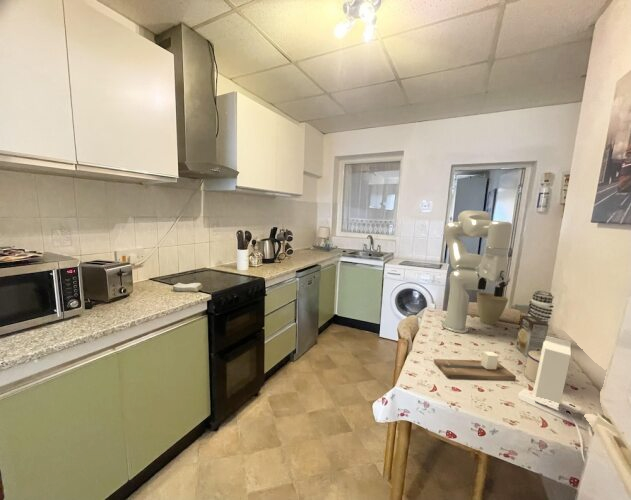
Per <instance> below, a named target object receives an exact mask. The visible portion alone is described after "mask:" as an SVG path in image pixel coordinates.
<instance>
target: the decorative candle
mask: <svg viewBox="0 0 631 500" xmlns="http://www.w3.org/2000/svg"><path fill="white" fill-rule="evenodd" d="M554 298H555V296H553V295H552V293H551V292H548V291H545V290H536V291H533V292H532V298H531V300H530V301H529V302H528V303H529V304H528V312H527V316H532V317H537V318H539V319H540V320H542V321H543V322H545V323H547V324H548V325H549V321H551V320H550V319H551V316H550V315H552V312H553V309H552V308H554V305H553V301H554V300H553V299H554Z"/></svg>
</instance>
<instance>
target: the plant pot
mask: <svg viewBox="0 0 631 500" xmlns="http://www.w3.org/2000/svg"><path fill="white" fill-rule="evenodd" d="M508 300H509V298H508V297H506V296H504V295H503V296H502V297H495V296H494V293H493V292H485V291H478V292H476V302H477V303H476V305H477V306H476V307H477V312H478V318H479V320H480V322H481V323H484V324H486V325H493V326H494V325H496V324H497V322H498V321H499V319H501V316H502V314H503V313H504V311H505V309H506V307H507V304H508Z"/></svg>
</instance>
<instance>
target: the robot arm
mask: <svg viewBox="0 0 631 500" xmlns="http://www.w3.org/2000/svg"><path fill="white" fill-rule="evenodd" d="M512 224H513V223H511V222H509V221H499V220H492V217H491V215H490V213H489V212H487V211H484V210H471V209H470V210H469V209H468V210H464V211H461V212H460V213H459V214H458V216H457V221H449V222H448V223H446V224H445V226H444V228H443V229H444V230H443V237H444V240H445V241H444V242H445V243H446V245H447V247H448V253H449V260H450V262H449V263H450V265H451V268H452V269H454V270H453V271H451V272H450V274H449V294H448V302H447V306H446V307H447V308H446V314H445V315H444V316H443V318H444V321H442V322H441V326H442V328H444V329H445V330H448V331H450V332H453V333H457V334H458V333H459V334H466V333H469V328H468V327H467V326H466V323H467V316H468V313H469V312H468V311H469V306H470V305H469V304H470V295H469V294H468V292H467V291H466V290H471V291H472V290H473V291H474V290H475V291H484V290H486V289H487V288H488V287H489V281H491V282H492V281H493V282H495V285H496V286H495V287H494V291H493V292H494V296H495V297H502V296H504V290H505V288H506V286H508V285H509V283H510V281H511V277H510V276H509V275H508V274H507V272H508V252H509V246H510V241H511V235H512V228H513V225H512ZM460 238H467V239H476V238H483V239H485V238H486V244H485V251H484V253H483V255H481V254H478V253H469V252H468V251H467V246H466V245H465V243H464V242H463V241H462V240H461V239H460Z"/></svg>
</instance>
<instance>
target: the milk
mask: <svg viewBox="0 0 631 500" xmlns="http://www.w3.org/2000/svg"><path fill="white" fill-rule="evenodd" d="M571 346H572V342H571V341H569V340H565V339H561V338H556V337H553V336H548V335H546V339H545V341H544V342H543V347H542V351H541V356H540V361H539V366H538V371H537V376H536V381H535V382H534V387H533V392H534V393H535V396H536V397H540V398H544V399H548V400H551V401H554V402H557V403H559V404H560V405H561V401H562V397H563V392H564V388H565V383H566V379H567V375H568V371H569V370H568V369H569V365H570V361H571V356H572V351H571ZM533 392H532V393H533Z"/></svg>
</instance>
